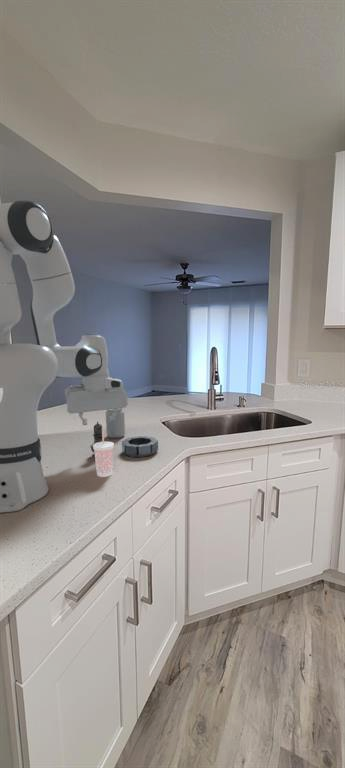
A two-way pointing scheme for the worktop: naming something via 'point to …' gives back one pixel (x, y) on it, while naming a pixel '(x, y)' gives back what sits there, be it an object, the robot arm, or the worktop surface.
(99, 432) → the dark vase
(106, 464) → the beverage cup
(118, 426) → the can
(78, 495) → the worktop surface
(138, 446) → the metal ring collar
